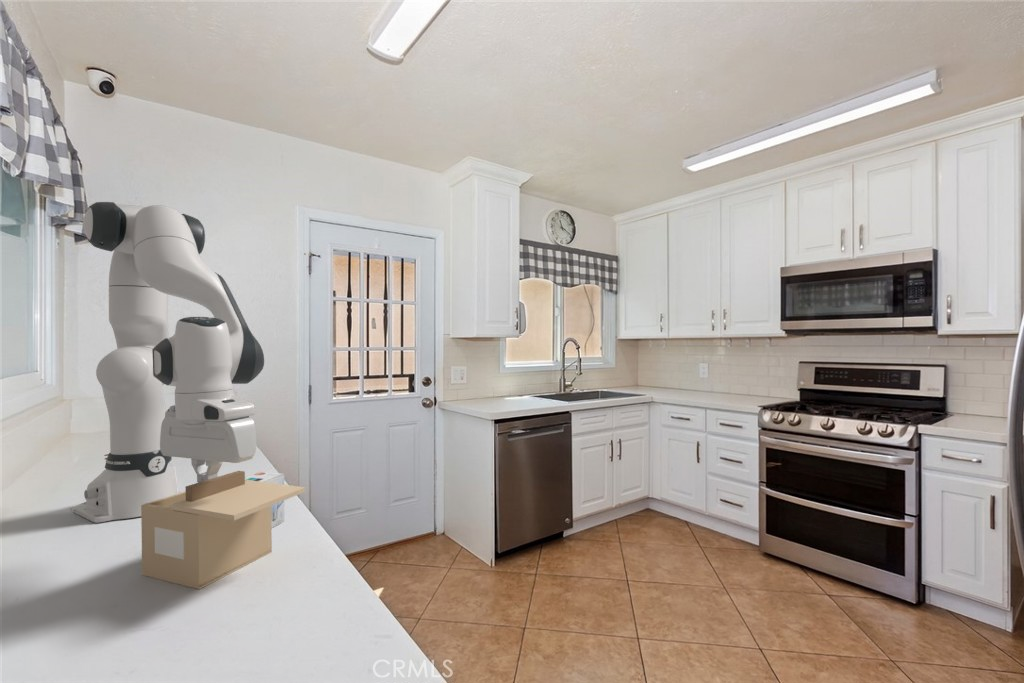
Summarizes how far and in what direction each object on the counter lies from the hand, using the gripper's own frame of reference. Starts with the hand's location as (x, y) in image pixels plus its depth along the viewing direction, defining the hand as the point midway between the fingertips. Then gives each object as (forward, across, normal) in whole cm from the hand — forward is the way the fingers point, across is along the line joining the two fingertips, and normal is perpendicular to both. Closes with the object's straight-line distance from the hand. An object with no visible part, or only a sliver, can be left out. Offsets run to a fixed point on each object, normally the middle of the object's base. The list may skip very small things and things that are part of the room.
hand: (207, 483), depth 84 cm
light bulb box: (+15, -5, +14) cm, 21 cm away
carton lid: (+2, +8, 0) cm, 9 cm away
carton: (+14, 0, 0) cm, 14 cm away
